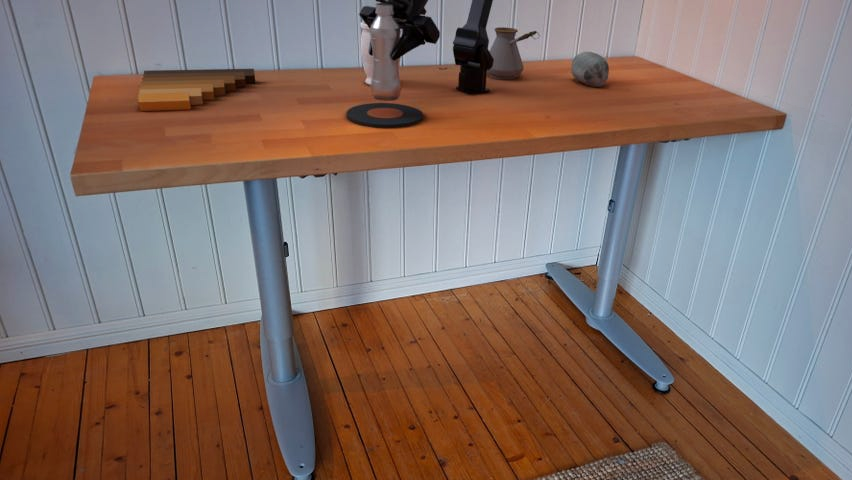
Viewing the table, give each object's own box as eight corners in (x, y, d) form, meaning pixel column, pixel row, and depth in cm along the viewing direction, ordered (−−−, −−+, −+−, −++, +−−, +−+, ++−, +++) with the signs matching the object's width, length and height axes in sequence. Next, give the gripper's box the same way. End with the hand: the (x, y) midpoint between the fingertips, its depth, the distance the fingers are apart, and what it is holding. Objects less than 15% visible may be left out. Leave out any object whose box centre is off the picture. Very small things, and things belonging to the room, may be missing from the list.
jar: (394, 90, 173) (394, 28, 166) (355, 85, 175) (353, 24, 167) (406, 80, 182) (406, 22, 175) (369, 76, 184) (368, 18, 177)
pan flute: (254, 80, 173) (146, 83, 165) (253, 67, 171) (144, 68, 163) (262, 107, 153) (140, 111, 144) (261, 92, 151) (137, 96, 143)
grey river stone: (620, 77, 186) (606, 43, 183) (589, 93, 186) (575, 59, 183) (603, 78, 199) (590, 46, 196) (575, 93, 199) (561, 61, 196)
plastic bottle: (381, 94, 154) (379, 0, 144) (406, 99, 152) (406, 4, 142) (365, 101, 149) (361, 4, 139) (391, 106, 147) (390, 7, 137)
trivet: (398, 103, 163) (398, 99, 162) (437, 122, 151) (437, 118, 150) (333, 111, 153) (333, 107, 153) (369, 132, 142) (369, 127, 141)
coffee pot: (475, 72, 195) (478, 18, 188) (509, 70, 200) (514, 17, 193) (512, 91, 179) (517, 32, 172) (549, 88, 184) (555, 30, 177)
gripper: (363, -35, 145) (328, 25, 142) (432, -25, 136) (397, 39, 133) (388, 1, 155) (356, 58, 152) (454, 12, 146) (421, 73, 143)
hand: (381, 56), depth 145 cm, fingers closed on plastic bottle, 6 cm apart
